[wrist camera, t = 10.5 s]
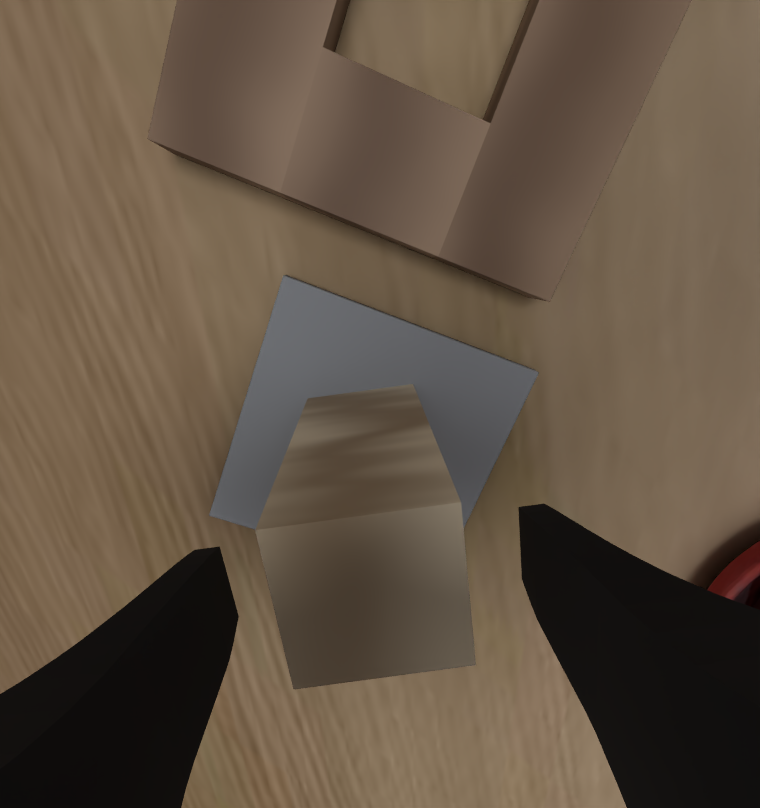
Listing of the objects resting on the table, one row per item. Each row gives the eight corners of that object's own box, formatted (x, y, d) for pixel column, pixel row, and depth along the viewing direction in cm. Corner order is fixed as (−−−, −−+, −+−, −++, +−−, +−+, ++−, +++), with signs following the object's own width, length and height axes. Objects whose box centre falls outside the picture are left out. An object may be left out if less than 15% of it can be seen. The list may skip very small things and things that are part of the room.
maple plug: (412, 384, 18) (461, 502, 9) (424, 479, 19) (475, 664, 10) (307, 398, 18) (254, 530, 9) (325, 493, 19) (293, 689, 10)
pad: (534, 369, 18) (539, 372, 18) (434, 576, 21) (436, 584, 20) (285, 274, 17) (283, 275, 16) (212, 509, 19) (209, 515, 19)
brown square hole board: (724, -131, 14) (783, -194, 12) (529, 297, 17) (549, 301, 15) (296, -380, 12) (283, -500, 10) (173, 153, 16) (147, 138, 14)
